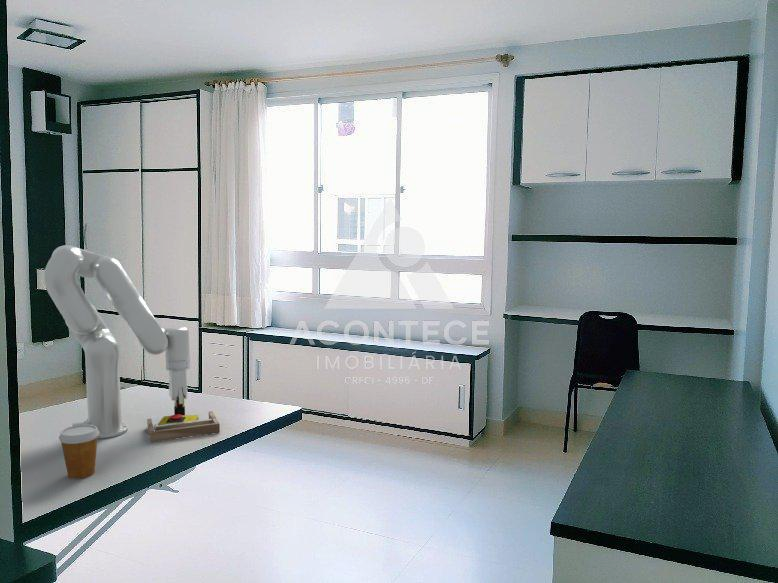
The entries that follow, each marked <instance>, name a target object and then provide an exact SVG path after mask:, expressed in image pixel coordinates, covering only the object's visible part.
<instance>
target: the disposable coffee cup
mask: <svg viewBox="0 0 778 583" xmlns="http://www.w3.org/2000/svg"><path fill="white" fill-rule="evenodd" d="M59 433H60V434H59V436H58V439H59V441H60V443H61V448H62V452H63V453H62V454H63V459H64V463H65V469H66V473H67V477H68V478H69V479H72V478H75V479H74V480H76V478H79V479H85V478H88V477H90V476H93V475H94V474H95V470H96V460H97V459H96V458H97V448H98V446H97V445H98V439H97V438H98V435H99V431H98V429H97V427H96V426H94V425H77V426H68V427H66V428H63V429H62V430H61V431H60V432H59Z"/></svg>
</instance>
